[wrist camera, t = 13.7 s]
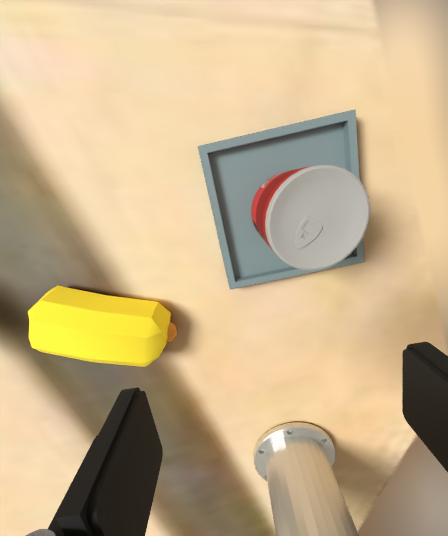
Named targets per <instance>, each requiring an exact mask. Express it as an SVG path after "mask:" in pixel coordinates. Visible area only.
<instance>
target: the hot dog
mask: <svg viewBox="0 0 448 536" xmlns="http://www.w3.org/2000/svg"><path fill="white" fill-rule="evenodd" d="M28 315H29V340H30V343H31V346H32V348H34V349H36V350H38V351H41V352H45V353H50V354H55V355H60V356H65V357H70V358H75V359H80V360H85V361H90V362H99V363H109V364H120V365H131V366H142V367H146V366H147V365H149V364H150V363H151V362H153V361H154V360H155V359H157V358H158V357H159V356H160V354H161V352H162V351H163V349H164V347H165V346H166V344H167V343H169V342H172V341H173V340H174V338H175V337H176V335H177V330H176V326H175V324H173V323H171V322H170V318H171V313H170V312H169V311H168V310H167V309H166V308H165V307H163V306H162V305H161V304H160V303H159V302H155V301H147V300H139V299H131V298H123V297H115V296H107V295H102V294H97V293H92V292H87V291H82V290H77V289H71V288H66V287H61V286H56V287H54V288H53V289H52V290H50V291H49V292H47V293H46V294H45V295H44V296H43V297H42V298H41V299H40V300H39V301H38V302H37V303H36V304H34V305H33V306H32V307H31V309H30V310H29V311H28Z"/></svg>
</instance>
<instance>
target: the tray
mask: <svg viewBox="0 0 448 536" xmlns="http://www.w3.org/2000/svg"><path fill="white" fill-rule="evenodd" d="M198 149H199V154H200V158H201V163H202V167H203V172H204V176H205V180H206V185H207V189H208V194H209V198H210V203H211V207H212V212H213V216H214V220H215V225H216V229H217V234H218V238H219V243H220V247H221V252H222V256H223V260H224V265H225V269H226V274H227V278H228V283H229V287H230V289H235V288H240V287H245V286H250V285H254V284H259V283H264V282H269V281H274V280H278V279H283V278H288V277H293V276H298V275H303V274H307V273H312V272H317V271H322V270H327V269H331V268H336V267H341V266H346V265H351V264H356V263H360V262H365V260H364V243H363V238H362V240H361V241H360V243H359V244H358V246H357V247H356V248H355V249H354V250H353V251H352V252H351V254H350V255H348V256H347V257H346V258H345V259H343V260H342V261H340V262H339V263H337V264H335V265H333V266H331V267H328V268H325V269H320V270H302V269H298V268H294V267H292V266H290V265H288V264H287V263H285V262H284V261H282V260H281V259H280V258H278V257H277V255H276V254H275V253H274V252H273V251H272V250H271V248H270V247H269V246H268V245H267V243H266V242H265V241H264V240H263V238H262V237H261V236H260V234H259V233H258V232H257V231H256V229H255V227H254V225H253V221H252V216H251V208H252V202H253V199H254V196H255V194H256V192H257V190H258V189H259V188H260V186H261V185H262V184H263V183H264V182H265V181H266V180H267V179H269V178H271V177H272V176H274V175H276V174H279V173H282V172H286V171H291V170H295V169H300V168H304V167H310V166H316V165H332V166H337V167H340V168H344V169H345V170H347V171H349V172H351V173H352V174H354V175H355V176H356V177H357V178H358V179H359V180H360V177H359V161H358V144H357V128H356V111H355V110H351V111H346V112H342V113H338V114H334V115H329V116H325V117H321V118H317V119H312V120H308V121H304V122H300V123H295V124H291V125H287V126H282V127H278V128H274V129H270V130H265V131H261V132H257V133H253V134H248V135H244V136H240V137H235V138H231V139H227V140H223V141H218V142H214V143H210V144H206V145H201V146H198Z"/></svg>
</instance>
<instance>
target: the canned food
mask: <svg viewBox="0 0 448 536" xmlns="http://www.w3.org/2000/svg"><path fill="white" fill-rule="evenodd" d="M369 214H370V205H369V198H368V195H367V193H366V190H365V188H364V186H363V185H362V183H361V182H360V180H359V179H358V178H357V177H356V176H355V175H354V174H352V173H351V172H349V171H347V170H345V169H344V168H340V167H337V166H332V165H316V166H310V167H304V168H300V169H295V170H291V171H286V172H282V173H279V174H276V175H274V176H272V177H271V178H269V179H267V180H266V181H265V182H264V183H263V184H262V185H261V186H260V188H259V189H258V190H257V192H256V194H255V196H254V199H253V202H252V208H251V216H252V221H253V225H254V227H255V229H256V231H257V232H258V233H259V234H260V236H261V237H262V238H263V240H264V241H265V242H266V243H267V245H268V246H269V247H270V248H271V250H272V251H273V252H274V253H275V254H276V255H277V257H278V258H280V259H281V260H282V261H284V262H285V263H287V264H288V265H290V266H292V267H294V268H298V269H302V270H320V269H325V268H328V267H331V266H333V265H335V264H337V263H339V262H340V261H342V260H343V259H345V258H346V257H347V256H348V255H350V254H351V252H352V251H353V250H354V249H355V248H356V247H357V246H358V244H359V243H360V241H361V240H362V238H363V236H364V233H365V231H366V229H367V225H368V221H369Z"/></svg>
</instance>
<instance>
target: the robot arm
mask: <svg viewBox="0 0 448 536" xmlns="http://www.w3.org/2000/svg"><path fill="white" fill-rule="evenodd" d="M403 415H404V417H405V419H406V421H407V423H408V424H409V425H410V426H411V428H412V429H413V430H414V431H415V433H416V434H417V435H418V436H419V437H420V439H421V440H422V441H423V442H424V444H425V445H426V446H427V447H428V449H429V450H430V451H431V452H432V453H433V455H434V456H435V457H436V458H437V460H438V461H439V462H440V463H441V465H442V466H443V467H444V468H445V470H446V471H447V472H448V356H447V355H445V354H444V353H443V352H441V351H440V350H438V349H437V348H436V347H434V346H433V345H431V344H430V343H428V342H421V343H415V344H409V345H408V346H407V348H406V349H405V350H404V351H403ZM161 461H162V445H161V442H160V439H159V436H158V432H157V429H156V426H155V423H154V419H153V416H152V413H151V410H150V406H149V403H148V400H147V397H146V394H145V392H144V391H140V389H139V388H131V389H125V390H122V391H121V392H120V394H119V396H118V398H117V400H116V402H115V404H114V406H113V408H112V410H111V412H110V414H109V415H108V417H107V419H106V421H105V423H104V425H103V427H102V429H101V431H100V433H99V435H98V436H96V438H95V439H94V441H93V443H92V445H91V447H90V449H89V450H88V452H87V454H86V456H85V458H84V460H83V462H82V464H81V466H80V468H79V470H78V472H77V474H76V476H75V477H74V479H73V481H72V483H71V485H70V487H69V489H68V491H67V493H66V495H65V497H64V499H63V501H62V503H61V504H60V506H59V508H58V510H57V512H56V514H55V516H54V518H53V520H52V522H51V524H50V526H49V528H48V529H39V530H37V531H34V532H31V533H29V534H28V535H26V536H145V533H146V528H147V524H148V519H149V515H150V510H151V506H152V502H153V497H154V493H155V488H156V484H157V479H158V475H159V470H160V466H161ZM334 461H335V448H334V445H333V442H332V440H331V438H330V437H329V435H328V434H327V433H326V432H325V431H324V430H322V429H321V428H319V427H317V426H315V425H312V424H309V423H302V422H292V423H286V424H282V425H279V426H277V427H275V428H272V429H271V430H269V431H268V432H266V433H265V434H264V435H263V436H262V437H261V438H260V439H259V441H258V442H257V444H256V446H255V449H254V464H255V468H256V470H257V472H258V474H259V475H260V476H261V477H262V478H263V479H264V480H266V481H267V482H268V488H269V494H270V500H271V506H272V512H273V519H274V525H275V531H276V536H359V535H358V532H357V530H356V527H355V525H354V522H353V520H352V517H351V515H350V512H349V510H348V507H347V505H346V502H345V500H344V497H343V495H342V492H341V490H340V487H339V485H338V482H337V480H336V477H335V475H334V472H333V470H332V466H333V464H334Z"/></svg>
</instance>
